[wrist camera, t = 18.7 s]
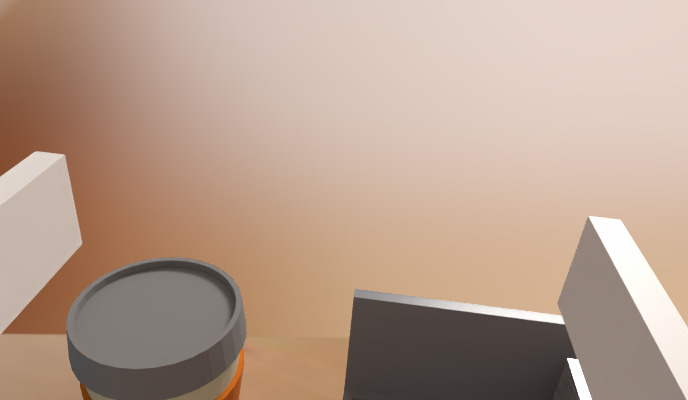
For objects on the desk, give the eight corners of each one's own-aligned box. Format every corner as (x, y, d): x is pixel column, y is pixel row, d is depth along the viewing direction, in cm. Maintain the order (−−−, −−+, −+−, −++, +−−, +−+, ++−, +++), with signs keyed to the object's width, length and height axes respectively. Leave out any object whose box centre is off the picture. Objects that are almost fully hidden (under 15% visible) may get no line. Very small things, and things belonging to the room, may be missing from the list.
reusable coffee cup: (257, 494, 44) (255, 357, 36) (86, 529, 41) (44, 386, 33) (242, 374, 54) (237, 248, 47) (104, 394, 51) (76, 263, 44)
